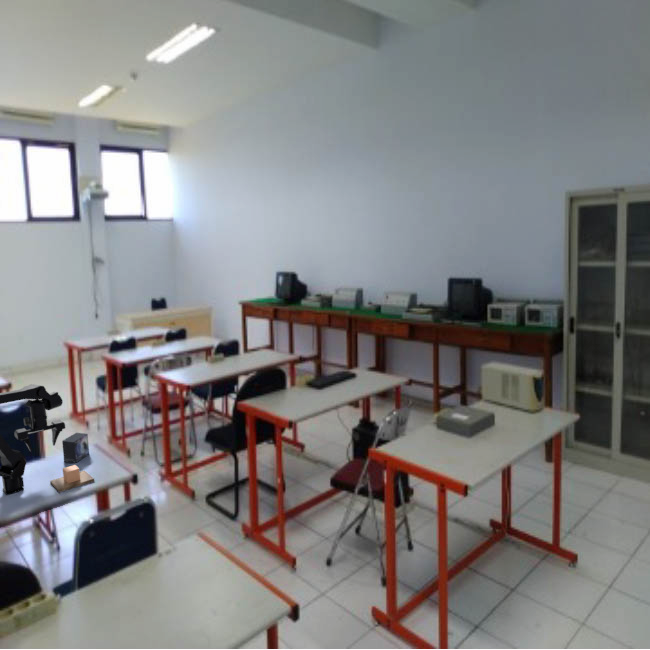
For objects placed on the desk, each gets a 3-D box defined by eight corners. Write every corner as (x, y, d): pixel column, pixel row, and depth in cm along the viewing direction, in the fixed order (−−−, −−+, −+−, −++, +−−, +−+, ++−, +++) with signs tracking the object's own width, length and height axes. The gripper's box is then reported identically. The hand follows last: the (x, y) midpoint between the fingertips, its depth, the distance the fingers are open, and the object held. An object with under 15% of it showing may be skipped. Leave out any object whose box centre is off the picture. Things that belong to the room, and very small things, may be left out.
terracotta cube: (67, 483, 231) (66, 472, 230) (63, 479, 234) (62, 468, 233) (80, 479, 234) (79, 468, 233) (76, 475, 238) (75, 464, 237)
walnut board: (59, 492, 226) (58, 489, 225) (50, 483, 234) (50, 480, 233) (94, 481, 235) (93, 478, 235) (84, 472, 243) (84, 470, 243)
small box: (76, 463, 253) (73, 441, 251) (63, 462, 254) (61, 440, 252) (90, 454, 263) (88, 433, 261) (77, 453, 264) (75, 432, 262)
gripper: (55, 404, 249) (59, 437, 252) (8, 414, 237) (13, 449, 240) (63, 410, 241) (67, 444, 244) (16, 421, 229) (20, 456, 231)
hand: (42, 448), depth 240 cm, fingers open, 9 cm apart
